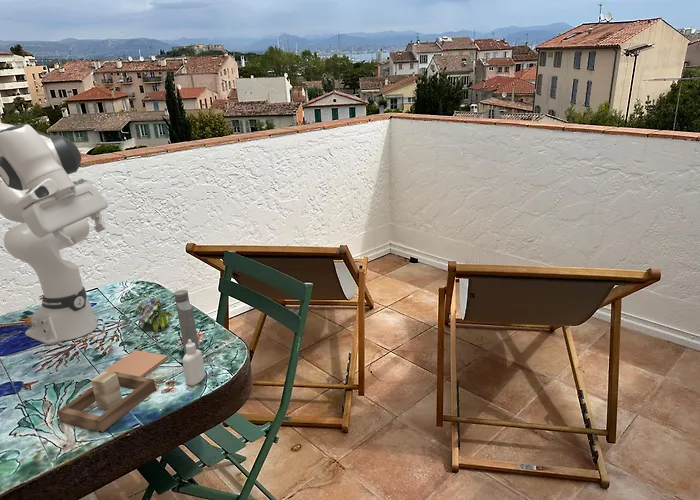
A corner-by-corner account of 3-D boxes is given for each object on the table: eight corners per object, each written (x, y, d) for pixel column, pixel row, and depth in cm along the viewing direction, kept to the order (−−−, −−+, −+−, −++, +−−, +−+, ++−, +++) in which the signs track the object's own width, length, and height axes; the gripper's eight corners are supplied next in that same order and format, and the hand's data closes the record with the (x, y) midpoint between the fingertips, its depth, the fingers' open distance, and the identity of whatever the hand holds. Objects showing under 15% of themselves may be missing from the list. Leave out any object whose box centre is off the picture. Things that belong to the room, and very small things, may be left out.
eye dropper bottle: (182, 380, 121) (175, 340, 118) (203, 372, 125) (196, 333, 121) (188, 387, 118) (181, 346, 115) (209, 379, 122) (203, 339, 118)
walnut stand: (60, 421, 107) (57, 410, 106) (117, 381, 122) (114, 371, 121) (102, 432, 103) (99, 421, 102) (156, 389, 118) (154, 379, 117)
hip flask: (202, 365, 129) (191, 300, 122) (187, 369, 127) (175, 303, 121) (195, 341, 142) (185, 281, 136) (181, 344, 141) (171, 283, 135)
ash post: (97, 408, 112) (90, 380, 109) (110, 398, 115) (104, 371, 113) (110, 411, 110) (103, 382, 108) (123, 401, 114) (116, 373, 111)
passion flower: (147, 341, 155) (133, 310, 156) (179, 327, 159) (165, 296, 161) (145, 336, 145) (130, 302, 146) (178, 321, 149) (163, 289, 151)
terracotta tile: (103, 374, 126) (102, 371, 126) (135, 353, 137) (135, 350, 136) (137, 381, 122) (136, 378, 122) (168, 358, 133) (167, 355, 132)
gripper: (79, 181, 120) (110, 227, 124) (7, 206, 102) (46, 258, 106) (94, 172, 118) (125, 218, 121) (23, 196, 100) (62, 249, 103)
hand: (88, 237), depth 113 cm, fingers open, 8 cm apart
